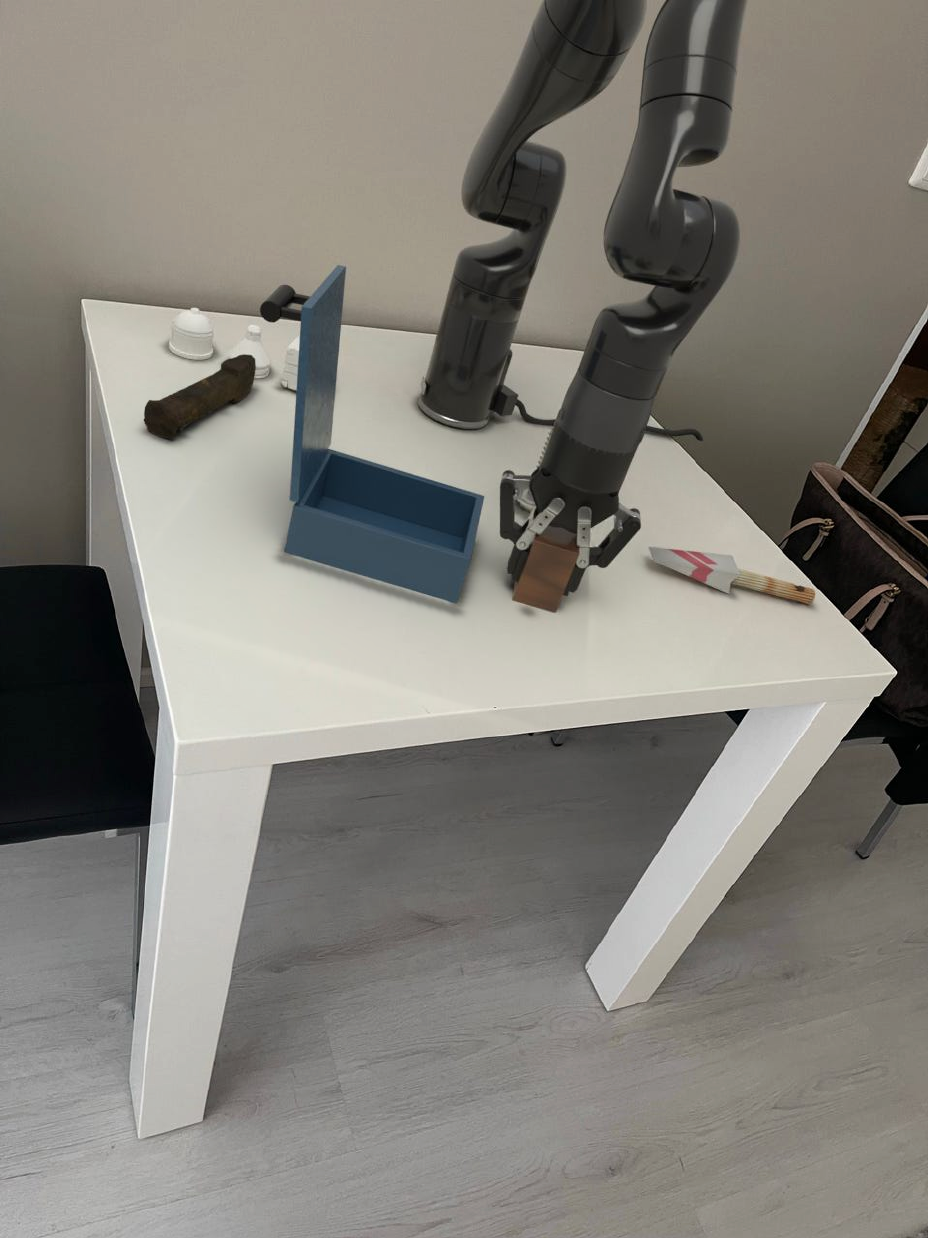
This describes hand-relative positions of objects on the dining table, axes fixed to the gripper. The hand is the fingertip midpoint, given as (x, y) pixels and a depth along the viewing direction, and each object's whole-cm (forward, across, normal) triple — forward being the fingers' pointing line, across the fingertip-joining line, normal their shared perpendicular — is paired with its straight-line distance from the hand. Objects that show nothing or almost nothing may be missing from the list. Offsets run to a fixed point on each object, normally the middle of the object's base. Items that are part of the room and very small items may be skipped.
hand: (539, 583), depth 94 cm
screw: (+2, +2, -18) cm, 18 cm away
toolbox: (+2, +16, -1) cm, 16 cm away
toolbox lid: (-13, +25, -1) cm, 28 cm away
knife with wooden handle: (+2, -22, -15) cm, 27 cm away
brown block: (+1, 0, 0) cm, 1 cm away
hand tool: (+2, +40, -18) cm, 44 cm away
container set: (+2, +39, -32) cm, 51 cm away
